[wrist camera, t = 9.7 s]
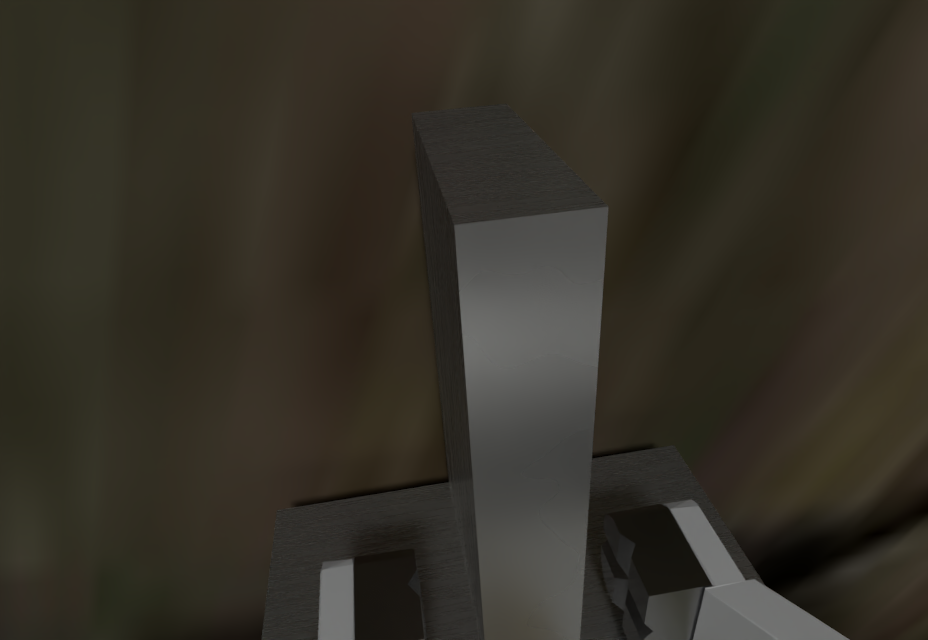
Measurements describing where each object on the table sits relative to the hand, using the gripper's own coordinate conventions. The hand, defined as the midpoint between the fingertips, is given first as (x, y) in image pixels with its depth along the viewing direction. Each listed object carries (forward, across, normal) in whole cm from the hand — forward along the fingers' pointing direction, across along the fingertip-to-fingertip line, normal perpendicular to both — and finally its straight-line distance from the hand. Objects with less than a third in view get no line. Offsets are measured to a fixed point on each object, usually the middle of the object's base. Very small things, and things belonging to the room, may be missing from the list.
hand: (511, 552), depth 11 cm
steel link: (+3, 0, +2) cm, 4 cm away
